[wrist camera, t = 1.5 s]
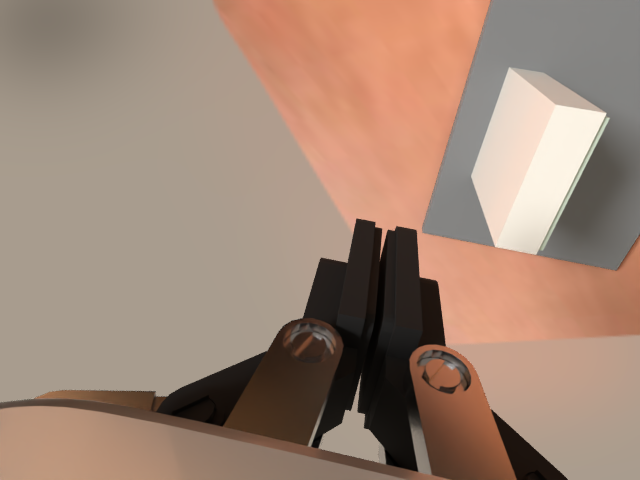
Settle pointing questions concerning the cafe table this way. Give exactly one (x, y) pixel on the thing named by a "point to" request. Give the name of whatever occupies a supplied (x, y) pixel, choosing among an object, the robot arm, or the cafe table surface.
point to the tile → (533, 157)
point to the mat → (585, 80)
